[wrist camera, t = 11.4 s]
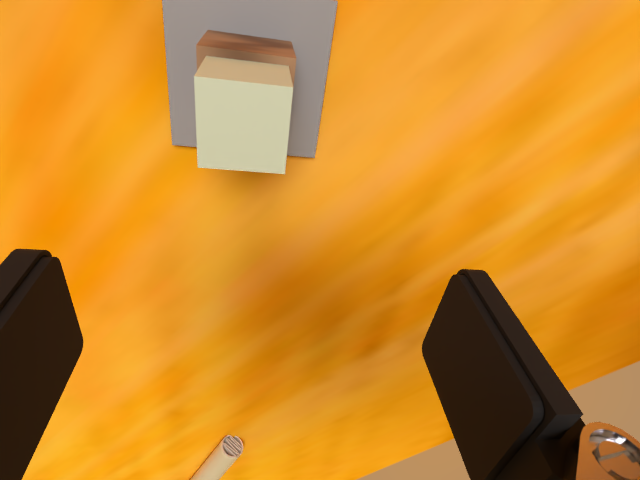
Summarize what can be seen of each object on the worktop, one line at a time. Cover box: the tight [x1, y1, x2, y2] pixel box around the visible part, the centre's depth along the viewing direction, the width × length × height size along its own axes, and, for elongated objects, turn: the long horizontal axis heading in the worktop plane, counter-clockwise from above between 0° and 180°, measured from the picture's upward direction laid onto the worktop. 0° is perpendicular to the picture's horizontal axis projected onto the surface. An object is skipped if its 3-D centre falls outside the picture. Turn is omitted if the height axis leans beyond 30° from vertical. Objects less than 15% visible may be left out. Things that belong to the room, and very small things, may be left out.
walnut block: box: [196, 30, 296, 117], centre depth 28 cm, size 6×6×6 cm
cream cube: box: [194, 56, 293, 174], centre depth 24 cm, size 5×5×5 cm
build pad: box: [162, 0, 338, 158], centre depth 31 cm, size 12×12×1 cm
